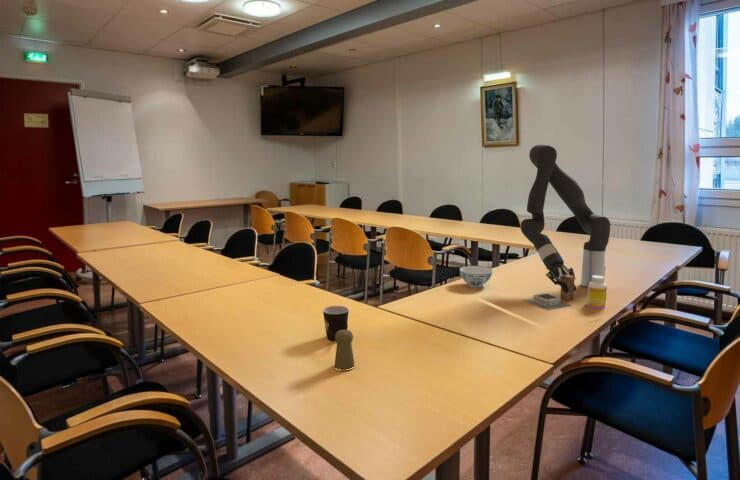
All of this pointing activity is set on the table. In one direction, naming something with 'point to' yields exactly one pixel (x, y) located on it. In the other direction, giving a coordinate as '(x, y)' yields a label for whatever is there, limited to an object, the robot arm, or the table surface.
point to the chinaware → (475, 275)
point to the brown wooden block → (570, 284)
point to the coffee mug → (335, 320)
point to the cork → (344, 350)
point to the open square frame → (547, 300)
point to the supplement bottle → (597, 292)
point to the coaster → (549, 307)
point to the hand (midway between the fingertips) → (571, 291)
